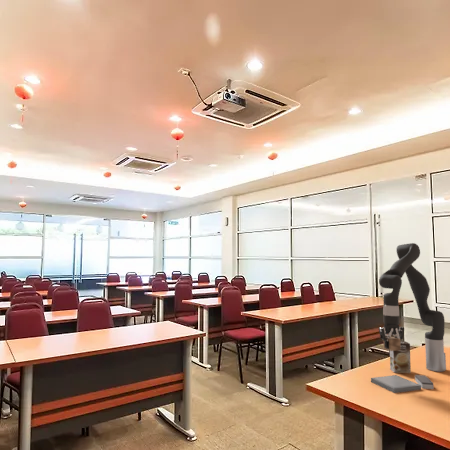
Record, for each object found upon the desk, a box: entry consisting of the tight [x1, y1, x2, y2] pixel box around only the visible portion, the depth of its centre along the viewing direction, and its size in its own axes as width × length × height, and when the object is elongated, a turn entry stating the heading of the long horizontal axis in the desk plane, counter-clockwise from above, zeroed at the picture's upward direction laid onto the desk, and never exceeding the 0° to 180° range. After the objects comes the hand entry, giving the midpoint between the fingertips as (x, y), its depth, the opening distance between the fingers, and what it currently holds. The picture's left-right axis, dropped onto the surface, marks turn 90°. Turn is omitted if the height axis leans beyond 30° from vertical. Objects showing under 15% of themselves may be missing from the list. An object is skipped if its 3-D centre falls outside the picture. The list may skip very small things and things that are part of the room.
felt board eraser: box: [414, 374, 434, 390], centre depth 184 cm, size 12×5×3 cm, turn 168°
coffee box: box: [389, 340, 412, 374], centre depth 206 cm, size 9×6×16 cm
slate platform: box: [370, 374, 422, 394], centre depth 182 cm, size 16×16×2 cm
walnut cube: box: [383, 336, 401, 352], centre depth 185 cm, size 6×6×6 cm
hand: (392, 348), depth 185 cm, fingers closed on walnut cube, 5 cm apart
